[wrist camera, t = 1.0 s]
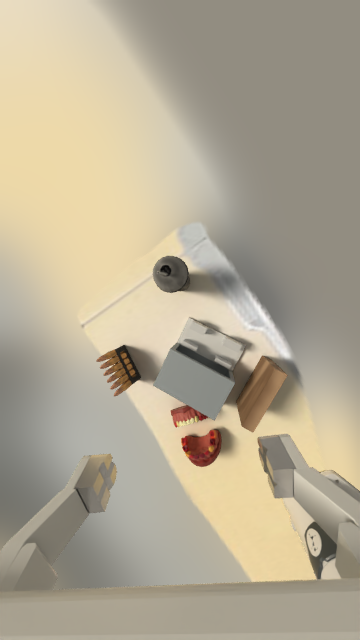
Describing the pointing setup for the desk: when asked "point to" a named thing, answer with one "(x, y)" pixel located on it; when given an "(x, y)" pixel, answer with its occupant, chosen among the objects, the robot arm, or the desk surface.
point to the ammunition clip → (120, 369)
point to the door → (259, 392)
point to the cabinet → (200, 368)
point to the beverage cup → (171, 274)
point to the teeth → (197, 448)
